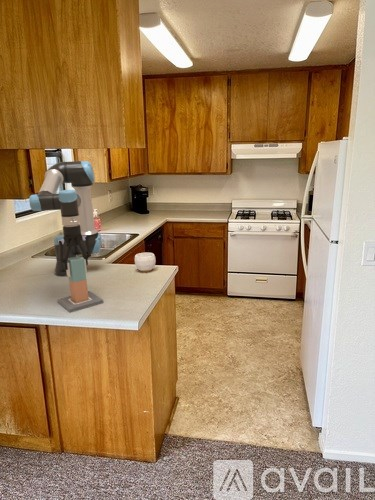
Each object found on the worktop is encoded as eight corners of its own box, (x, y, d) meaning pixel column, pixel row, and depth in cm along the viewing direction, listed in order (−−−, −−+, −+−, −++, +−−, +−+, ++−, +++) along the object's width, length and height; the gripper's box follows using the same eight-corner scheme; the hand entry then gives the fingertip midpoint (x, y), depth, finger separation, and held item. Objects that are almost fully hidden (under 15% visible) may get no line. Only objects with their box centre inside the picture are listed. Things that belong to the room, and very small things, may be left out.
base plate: (57, 302, 169) (57, 299, 169) (89, 293, 179) (89, 290, 178) (69, 312, 157) (69, 309, 156) (103, 302, 166) (103, 299, 166)
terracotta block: (71, 299, 168) (68, 279, 165) (83, 296, 171) (81, 276, 169) (76, 303, 163) (73, 282, 161) (88, 299, 167) (86, 279, 164)
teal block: (68, 279, 165) (66, 258, 163) (81, 276, 169) (78, 256, 166) (73, 282, 161) (71, 261, 158) (86, 279, 164) (84, 258, 162)
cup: (156, 267, 219) (155, 251, 216) (155, 273, 207) (154, 257, 205) (136, 267, 219) (135, 252, 216) (134, 274, 207) (133, 258, 204)
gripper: (51, 229, 150) (58, 281, 155) (95, 223, 161) (100, 271, 167) (45, 227, 155) (52, 277, 161) (89, 221, 167) (94, 267, 173)
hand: (77, 274), depth 164 cm, fingers open, 7 cm apart
